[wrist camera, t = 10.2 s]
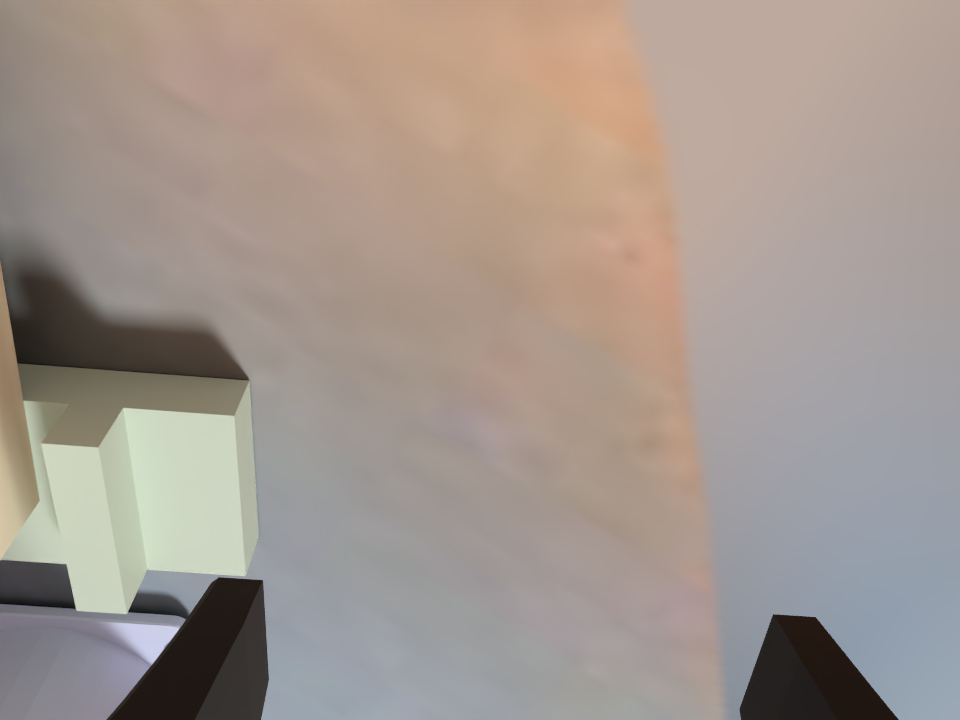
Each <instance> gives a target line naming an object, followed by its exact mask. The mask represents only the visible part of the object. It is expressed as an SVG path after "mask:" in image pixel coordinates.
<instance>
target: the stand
mask: <svg viewBox="0 0 960 720" xmlns="http://www.w3.org/2000/svg"><path fill="white" fill-rule="evenodd" d="M17 365H18V371H19V377H20V383H21V389H22V395H23V402H24V408H25V414H26V420H27V426H28V432H29V438H30V444H31V450H32V456H33V462H34V468H35V474H36V480H37V486H38V492H39V498H40V501H39V503H38V504H37V506H36V507H35V509H34V510H33V512H32V513H31V515H30V516H29V518H28V519H27V521H26V522H25V524H24V525H23V527H22V528H21V530H20V531H19V533H18V534H17V536H16V537H15V539H14V540H13V542H12V543H11V545H10V546H9V548H8V549H7V551H6V552H5V554H4V555H3V557H2V558H1V560H11V561H26V562H41V563H56V564H67V569H68V573H69V578H70V583H71V587H72V592H73V597H74V602H75V606H76V611H85V612H101V613H116V614H127V613H128V611H129V608H130V606H131V604H132V602H133V600H134V598H135V595H136V593H137V591H138V589H139V587H140V585H141V582H142V580H143V578H144V576H145V574H146V571H147V570H161V571H176V572H191V573H206V574H220V575H235V576H246V574H247V571H248V568H249V565H250V562H251V559H252V556H253V552H254V549H255V546H256V543H257V540H258V537H259V531H258V515H257V498H256V481H255V465H254V448H253V431H252V415H251V398H250V381H247V380H234V379H220V378H207V377H194V376H180V375H167V374H153V373H140V372H126V371H113V370H99V369H86V368H72V367H59V366H45V365H32V364H19V363H17Z"/></svg>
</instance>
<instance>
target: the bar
mask: <svg viewBox="0 0 960 720" xmlns="http://www.w3.org/2000/svg"><path fill="white" fill-rule="evenodd" d="M39 501H40V498H39V492H38V486H37V480H36V474H35V468H34V462H33V456H32V450H31V444H30V438H29V432H28V426H27V420H26V414H25V408H24V402H23V395H22V389H21V383H20V377H19V371H18V365H17V359H16V353H15V347H14V341H13V335H12V329H11V323H10V317H9V311H8V305H7V299H6V292H5V286H4V280H3V274H2V268H1V262H0V560H1V558H2V557H3V555H4V554H5V552H6V551H7V549H8V548H9V546H10V545H11V543H12V542H13V540H14V539H15V537H16V536H17V534H18V533H19V531H20V530H21V528H22V527H23V525H24V524H25V522H26V521H27V519H28V518H29V516H30V515H31V513H32V512H33V510H34V509H35V507H36V506H37V504H38V503H39Z"/></svg>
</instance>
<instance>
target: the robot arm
mask: <svg viewBox="0 0 960 720" xmlns="http://www.w3.org/2000/svg"><path fill="white" fill-rule="evenodd" d="M268 680H269V676H268V659H267V642H266V625H265V608H264V591H263V580H250V579H235V578H220V577H219V578H218V579H216V580H215V581H213V582H212V583H211V584H210V586H209V587H208V589H207V590H206V592H205V593H204V595H203V596H202V598H201V599H200V601H199V602H198V603H197V605H196V606H195V608H194V609H193V611H192V612H191V613H190V615H189V616H188V618H187V619H184V618H182V617H180V616H175V615H162V614H146V613H131V612H128V613H127V614H116V613H101V612H85V611H76V609H70V608H54V607H39V606H24V605H8V604H0V720H261V716H262V711H263V706H264V701H265V696H266V691H267V686H268ZM740 715H741V720H898V718H897V717H896V716H895V715H894V714H893V712H892V711H891V710H890V709H889V708H888V707H887V705H886V704H885V703H884V701H883V700H882V699H881V698H880V696H879V695H878V694H877V693H876V692H875V691H874V689H873V688H872V687H871V685H870V684H869V683H868V682H867V681H866V679H865V678H864V677H863V676H862V674H861V673H860V672H859V671H858V669H857V668H856V667H855V666H854V665H853V663H852V662H851V661H850V659H849V658H848V657H847V656H846V654H845V653H844V652H843V651H842V650H841V648H840V647H839V646H838V644H837V643H836V642H835V641H834V639H833V638H832V637H831V636H830V634H829V633H828V632H827V631H826V630H825V628H824V627H823V626H822V625H821V623H820V622H819V621H818V620H817V618H816V617H804V616H788V615H773V617H772V619H771V622H770V625H769V628H768V631H767V633H766V636H765V639H764V642H763V645H762V647H761V650H760V653H759V656H758V659H757V662H756V664H755V667H754V670H753V673H752V676H751V679H750V682H749V684H748V687H747V690H746V693H745V695H744V698H743V701H742V704H741V707H740Z"/></svg>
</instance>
